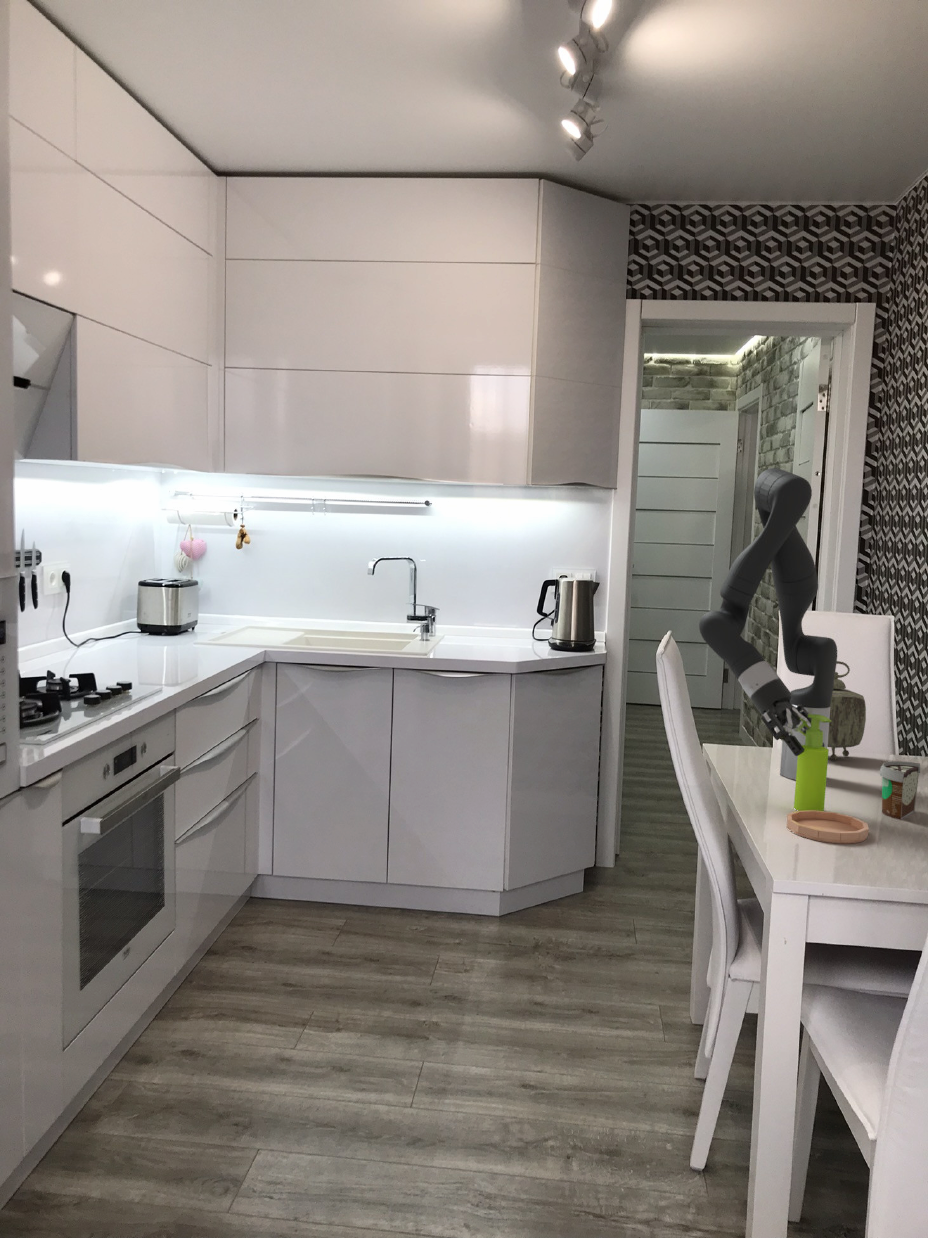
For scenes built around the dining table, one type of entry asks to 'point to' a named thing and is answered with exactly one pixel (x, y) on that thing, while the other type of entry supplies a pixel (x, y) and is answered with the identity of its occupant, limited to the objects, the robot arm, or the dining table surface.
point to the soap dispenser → (812, 769)
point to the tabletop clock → (845, 717)
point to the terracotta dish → (827, 826)
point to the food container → (899, 788)
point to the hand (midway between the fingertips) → (810, 751)
